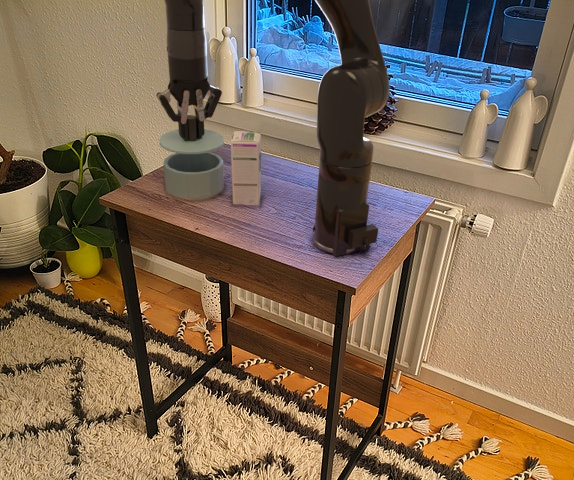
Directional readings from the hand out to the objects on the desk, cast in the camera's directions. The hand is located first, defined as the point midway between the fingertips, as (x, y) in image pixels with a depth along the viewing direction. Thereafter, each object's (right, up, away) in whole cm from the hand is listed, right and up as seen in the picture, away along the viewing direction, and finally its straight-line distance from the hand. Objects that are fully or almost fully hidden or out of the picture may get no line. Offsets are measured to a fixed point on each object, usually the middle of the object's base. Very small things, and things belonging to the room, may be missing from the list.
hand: (192, 138), depth 122 cm
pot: (0, -9, +7) cm, 12 cm away
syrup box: (+11, -13, +3) cm, 17 cm away
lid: (0, -1, +1) cm, 1 cm away
